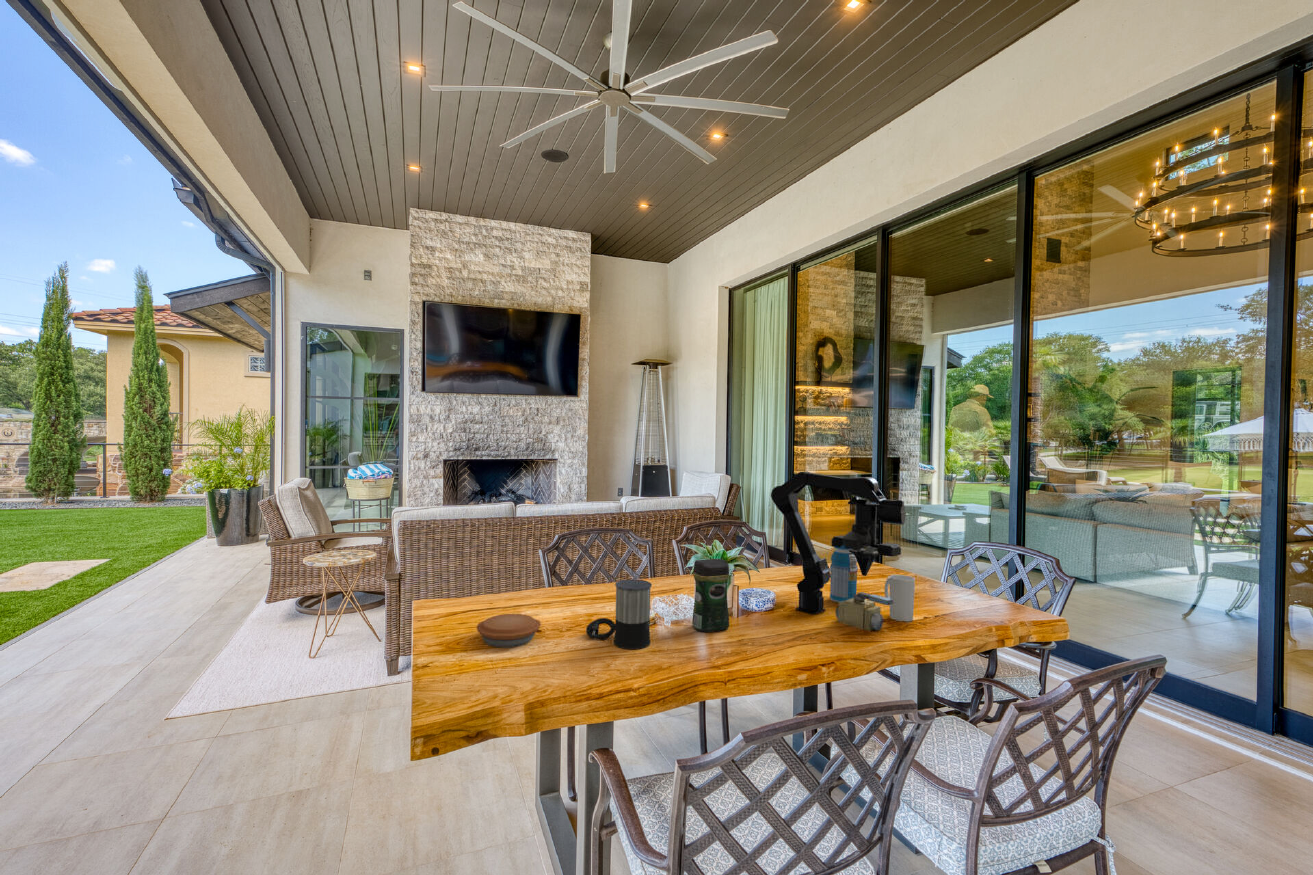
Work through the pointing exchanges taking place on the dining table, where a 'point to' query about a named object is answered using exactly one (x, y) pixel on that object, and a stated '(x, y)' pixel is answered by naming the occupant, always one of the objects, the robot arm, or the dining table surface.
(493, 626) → the pie
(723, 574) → the coffee jar
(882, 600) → the lever
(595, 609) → the dining table surface
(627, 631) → the milk frother
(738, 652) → the dining table surface
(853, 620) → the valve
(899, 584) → the mug
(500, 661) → the dining table surface
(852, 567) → the beverage bottle
